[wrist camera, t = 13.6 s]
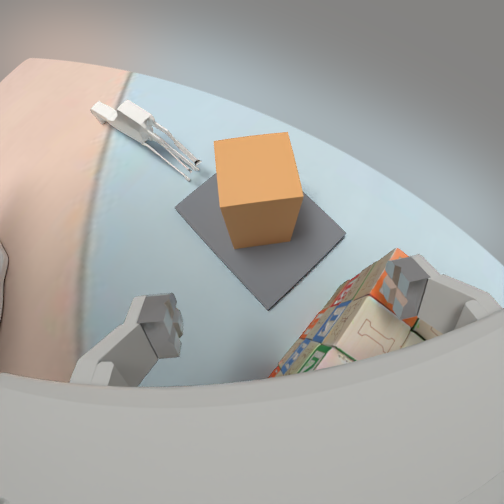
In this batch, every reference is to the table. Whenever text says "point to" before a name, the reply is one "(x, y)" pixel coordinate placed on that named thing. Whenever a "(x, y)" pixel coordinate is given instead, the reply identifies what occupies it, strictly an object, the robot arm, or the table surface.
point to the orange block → (258, 188)
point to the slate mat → (265, 256)
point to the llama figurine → (141, 129)
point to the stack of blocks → (354, 326)
